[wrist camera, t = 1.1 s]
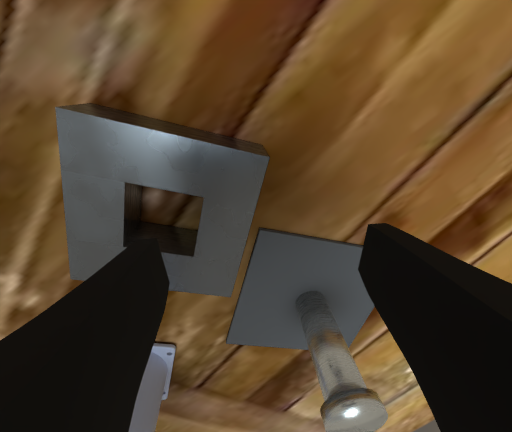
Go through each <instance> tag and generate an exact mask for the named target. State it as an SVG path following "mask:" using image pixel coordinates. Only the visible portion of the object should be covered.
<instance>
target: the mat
mask: <svg viewBox="0 0 512 432" xmlns="http://www.w3.org/2000/svg"><path fill="white" fill-rule="evenodd" d="M362 249H363V246H362V245H357V244H351V243H345V242H339V241H334V240H328V239H322V238H316V237H311V236H305V235H299V234H293V233H288V232H282V231H276V230H271V229H265V228H259V231H258V234H257V238H256V241H255V244H254V248H253V251H252V255H251V258H250V261H249V265H248V268H247V271H246V275H245V278H244V282H243V285H242V288H241V292H240V295H239V298H238V302H237V305H236V309H235V312H234V315H233V319H232V322H231V325H230V329H229V332H228V336H227V339H226V344H239V345H252V346H265V347H278V348H291V349H304V350H309V348H308V345H307V342H306V338H305V335H304V332H303V329H302V325H301V322H300V319H299V316H298V312H297V309H296V305H295V303H296V300H297V298H298V297H299V296H300V295H301V294H303V293H305V292H308V291H319V292H321V293H322V294H323V295H324V296H325V298H326V301H327V303H328V305H329V307H330V309H331V311H332V314H333V316H334V318H335V320H336V322H337V324H338V327H339V329H340V331H341V333H342V335H343V337H344V340H345V342H346V344H347V346H348V348H349V346H350V345H351V343H352V341H353V340H354V338H355V337H356V335H357V333H358V332H359V330H360V329H361V327H362V325H363V324H364V322H365V321H366V319H367V317H368V316H369V314H370V313H371V311H372V309H373V308H374V306H375V305H374V304H373V302H372V300H371V298H370V297H369V295H368V293H367V290H366V288H365V286H364V283H363V281H362V278H361V276H360V273H359V271H358V267H359V262H360V258H361V254H362Z"/></svg>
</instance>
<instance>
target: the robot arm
mask: <svg viewBox="0 0 512 432" xmlns="http://www.w3.org/2000/svg"><path fill="white" fill-rule="evenodd" d="M358 271H359V273H360V276H361V278H362V281H363V283H364V286H365V288H366V290H367V293H368V295H369V297H370V298H371V300H372V302H373V304H374V305H375V307H376V309H377V311H378V312H379V314H380V316H381V318H382V319H383V321H384V323H385V324H386V326H387V328H388V329H389V331H390V333H391V334H392V336H393V338H394V340H395V341H396V343H397V345H398V346H399V348H400V350H401V351H402V353H403V355H404V357H405V358H406V360H407V362H408V364H409V366H410V368H411V369H412V371H413V373H414V375H415V377H416V379H417V381H418V383H419V386H420V388H421V390H422V392H423V394H424V396H425V398H426V400H427V402H428V405H429V407H430V409H431V411H432V413H433V415H434V418H435V420H436V422H437V424H438V427H439V429H440V431H441V432H512V284H511V283H509V282H506V281H504V280H502V279H500V278H498V277H495V276H493V275H491V274H489V273H487V272H485V271H482V270H480V269H478V268H476V267H474V266H472V265H470V264H468V263H466V262H464V261H461V260H459V259H457V258H455V257H453V256H451V255H449V254H447V253H445V252H443V251H441V250H440V249H438V248H436V247H434V246H432V245H430V244H428V243H426V242H424V241H422V240H420V239H418V238H416V237H414V236H412V235H410V234H408V233H406V232H404V231H402V230H400V229H398V228H396V227H394V226H391V225H389V224H386V223H381V224H368V228H367V232H366V236H365V241H364V245H363V249H362V254H361V258H360V262H359V267H358ZM169 284H170V282H169V278H168V275H167V272H166V268H165V265H164V261H163V258H162V254H161V251H160V247H159V244H158V240H157V238H149V239H138V240H136V241H135V242H134V243H132V244H131V245H130V246H128V247H127V248H126V249H124V250H123V251H122V252H121V253H119V254H118V255H117V256H116V257H114V258H113V259H112V260H111V261H109V262H108V263H107V264H106V265H104V266H103V267H102V268H101V269H99V270H98V271H97V272H96V273H94V274H93V275H92V276H91V277H89V278H88V279H87V280H86V281H84V282H83V283H82V284H80V285H79V286H78V287H76V288H75V289H74V290H72V291H71V292H70V293H68V294H67V295H65V296H64V297H63V298H61V299H60V300H59V301H57V302H56V303H55V304H53V305H52V306H51V307H49V308H48V309H47V310H45V311H44V312H42V313H41V314H39V315H38V316H37V317H35V318H34V319H32V320H31V321H29V322H28V323H26V324H25V325H23V326H22V327H20V328H19V329H17V330H16V331H14V332H13V333H11V334H10V335H8V336H7V337H5V338H3V339H2V340H0V432H155V429H156V424H157V419H158V415H159V410H160V405H161V401H162V400H165V399H167V396H168V391H169V385H170V379H171V373H172V367H173V361H174V355H175V349H176V347H175V346H174V345H172V344H159V343H154V342H155V339H156V335H157V332H158V329H159V326H160V323H161V320H162V317H163V314H164V310H165V305H166V301H167V295H168V290H169Z"/></svg>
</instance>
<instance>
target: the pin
mask: <svg viewBox="0 0 512 432" xmlns="http://www.w3.org/2000/svg"><path fill="white" fill-rule="evenodd" d="M295 305H296V309H297V312H298V316H299V319H300V322H301V325H302V329H303V332H304V335H305V338H306V342H307V345H308V348H309V351H310V355H311V358H312V361H313V364H314V368H315V371H316V374H317V377H318V381H319V384H320V387H321V390H322V394H323V397H324V400H325V402H324V403H323V405H322V406H321V409H320V412H321V416H322V420H323V423H324V427H325V430H326V432H374V431H376V430H377V429H379V428H380V427H381V426H383V425H384V424H385V422H386V421H387V418H388V414H387V411H386V409H385V407H384V405H383V403H382V401H381V399H380V397H379V395H378V394H377V392H375V391H373V390H371V389H367V387H366V385H365V383H364V381H363V379H362V377H361V374H360V372H359V370H358V368H357V366H356V364H355V361H354V359H353V357H352V355H351V353H350V350H349V348H348V346H347V344H346V342H345V340H344V337H343V335H342V333H341V331H340V329H339V327H338V324H337V322H336V320H335V318H334V316H333V314H332V311H331V309H330V307H329V305H328V303H327V301H326V298H325V296H324V295H323V294H322V293H321V292H319V291H308V292H305V293H303V294H301V295H300V296H299V297H298V298H297V300H296V303H295Z"/></svg>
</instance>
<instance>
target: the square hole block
mask: <svg viewBox="0 0 512 432" xmlns="http://www.w3.org/2000/svg"><path fill="white" fill-rule="evenodd" d="M56 119H57V130H58V141H59V153H60V164H61V175H62V187H63V198H64V209H65V220H66V232H67V243H68V254H69V266H70V277H71V279H75V280H84V281H86V280H87V279H88V278H89V277H91V276H92V275H93V274H94V273H96V272H97V271H98V270H99V269H101V268H102V267H103V266H104V265H106V264H107V263H108V262H109V261H111V260H112V259H113V258H114V257H116V256H117V255H118V254H119V253H121V252H122V251H123V250H124V249H126V248H127V247H128V246H130V245H131V244H132V243H134V242H135V241H136V240H138V239H149V238H157V240H158V244H159V247H160V251H161V254H162V258H163V261H164V265H165V268H166V272H167V275H168V278H169V282H170V284H169V290H171V291H180V292H189V293H198V294H206V295H215V296H224V297H231V295H232V291H233V287H234V284H235V280H236V277H237V273H238V269H239V266H240V262H241V259H242V255H243V251H244V248H245V244H246V241H247V237H248V233H249V230H250V226H251V222H252V219H253V215H254V212H255V208H256V204H257V201H258V197H259V194H260V190H261V186H262V183H263V179H264V176H265V172H266V168H267V165H268V161H269V158H270V157H269V155H268V154H267V152H266V150H265V149H264V147H263V145H260V144H256V143H252V142H248V141H244V140H240V139H236V138H232V137H228V136H223V135H219V134H215V133H211V132H207V131H203V130H199V129H195V128H191V127H186V126H182V125H178V124H174V123H170V122H166V121H162V120H158V119H154V118H149V117H145V116H141V115H137V114H133V113H129V112H125V111H121V110H117V109H112V108H108V107H104V106H100V105H96V104H92V103H88V104H78V105H69V106H60V107H56ZM142 186H147V187H152V188H158V189H163V190H168V191H173V192H179V193H184V194H189V195H194V196H200V197H204V200H203V206H202V212H201V218H200V223H199V229H198V231H197V230H190V229H184V228H178V227H172V226H166V225H160V224H154V223H148V222H142V221H140V215H141V198H142Z"/></svg>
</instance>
